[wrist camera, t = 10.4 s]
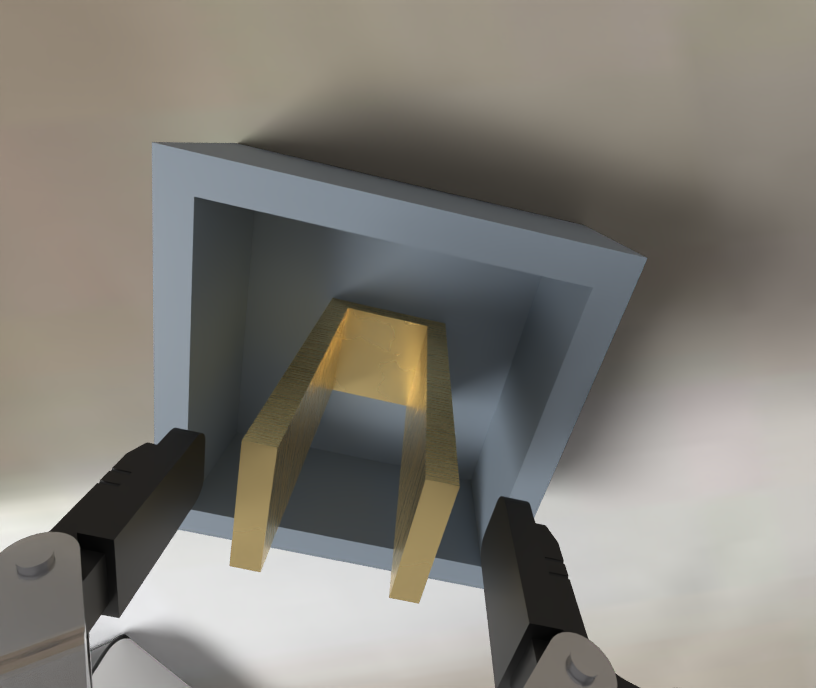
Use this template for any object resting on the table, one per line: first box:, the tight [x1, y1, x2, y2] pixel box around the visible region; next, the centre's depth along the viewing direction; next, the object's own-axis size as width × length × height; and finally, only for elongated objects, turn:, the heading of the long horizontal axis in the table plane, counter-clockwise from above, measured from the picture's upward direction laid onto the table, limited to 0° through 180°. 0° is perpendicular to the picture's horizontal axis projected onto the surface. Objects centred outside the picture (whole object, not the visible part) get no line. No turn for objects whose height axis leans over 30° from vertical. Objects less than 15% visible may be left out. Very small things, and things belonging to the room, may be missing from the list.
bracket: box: [230, 298, 460, 603], centre depth 16 cm, size 5×4×10 cm
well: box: [152, 142, 647, 589], centre depth 19 cm, size 14×14×6 cm
